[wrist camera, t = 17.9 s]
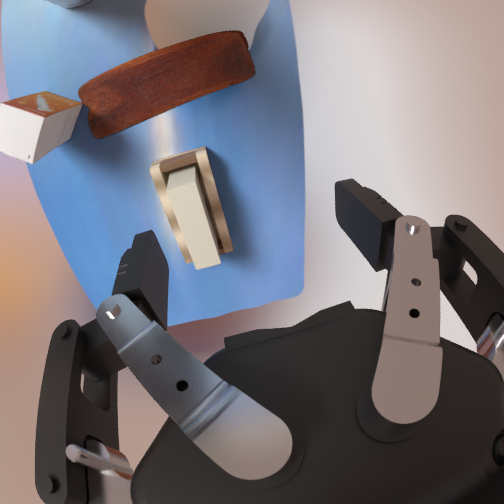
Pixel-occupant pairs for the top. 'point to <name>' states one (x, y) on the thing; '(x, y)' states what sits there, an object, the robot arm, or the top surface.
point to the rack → (200, 158)
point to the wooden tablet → (165, 80)
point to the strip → (193, 216)
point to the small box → (36, 125)
